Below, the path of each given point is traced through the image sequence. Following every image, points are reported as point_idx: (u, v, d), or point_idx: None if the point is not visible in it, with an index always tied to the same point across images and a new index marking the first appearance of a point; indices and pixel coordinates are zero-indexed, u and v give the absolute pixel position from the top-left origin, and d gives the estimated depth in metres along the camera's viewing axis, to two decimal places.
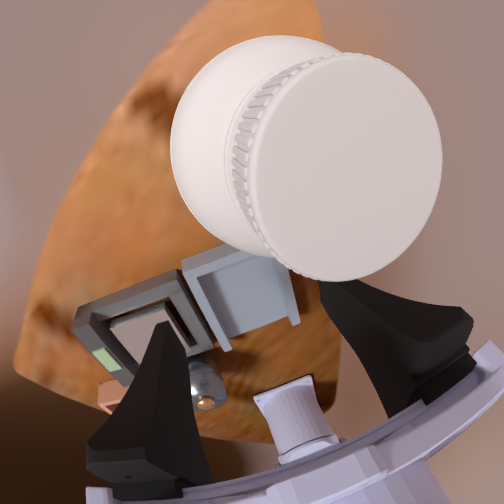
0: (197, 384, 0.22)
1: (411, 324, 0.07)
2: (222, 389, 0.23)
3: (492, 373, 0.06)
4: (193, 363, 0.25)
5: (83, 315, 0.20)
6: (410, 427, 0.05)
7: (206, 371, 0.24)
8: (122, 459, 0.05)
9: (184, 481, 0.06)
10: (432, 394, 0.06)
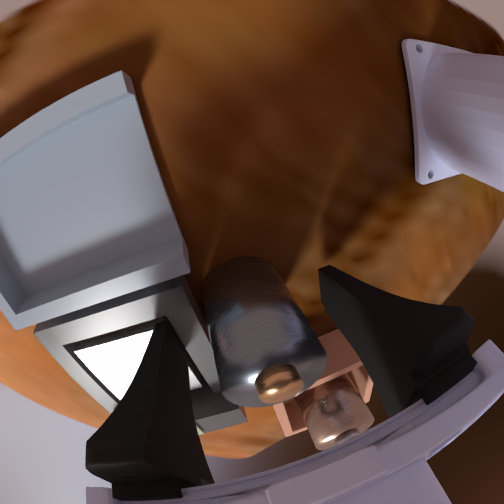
0: None
1: (412, 324, 0.07)
2: (248, 346, 0.09)
3: (492, 373, 0.06)
4: None
5: None
6: (410, 427, 0.05)
7: (214, 337, 0.10)
8: (121, 459, 0.05)
9: (183, 481, 0.06)
10: (433, 394, 0.06)
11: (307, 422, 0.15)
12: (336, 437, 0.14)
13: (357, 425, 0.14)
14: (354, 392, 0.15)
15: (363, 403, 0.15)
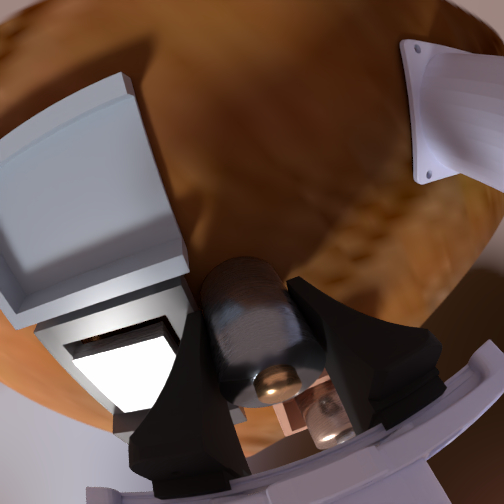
0: None
1: (369, 346, 0.07)
2: (247, 347, 0.09)
3: (492, 373, 0.06)
4: None
5: None
6: (410, 427, 0.05)
7: (212, 338, 0.10)
8: (176, 452, 0.05)
9: (229, 472, 0.07)
10: (391, 420, 0.06)
11: (307, 421, 0.15)
12: (336, 435, 0.14)
13: None
14: None
15: None
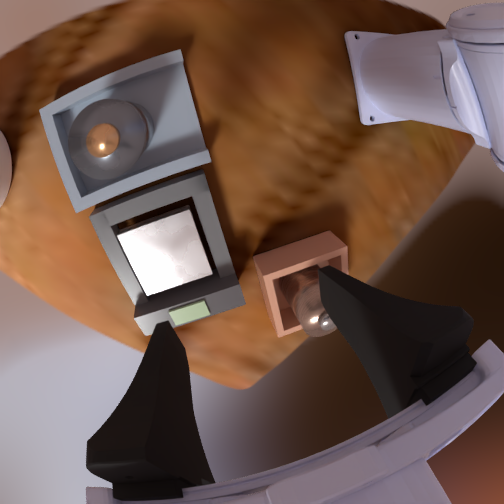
0: None
1: (411, 324, 0.07)
2: (86, 107, 0.10)
3: (492, 373, 0.06)
4: None
5: None
6: (410, 427, 0.05)
7: None
8: (122, 459, 0.05)
9: (184, 481, 0.06)
10: (432, 394, 0.06)
11: (295, 304, 0.21)
12: (319, 315, 0.20)
13: None
14: None
15: None
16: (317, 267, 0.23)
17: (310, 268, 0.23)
